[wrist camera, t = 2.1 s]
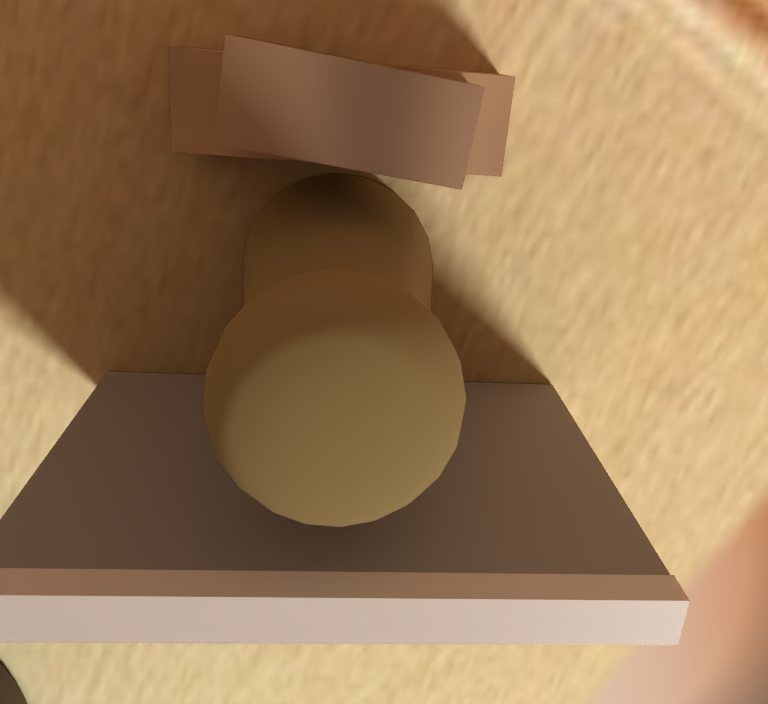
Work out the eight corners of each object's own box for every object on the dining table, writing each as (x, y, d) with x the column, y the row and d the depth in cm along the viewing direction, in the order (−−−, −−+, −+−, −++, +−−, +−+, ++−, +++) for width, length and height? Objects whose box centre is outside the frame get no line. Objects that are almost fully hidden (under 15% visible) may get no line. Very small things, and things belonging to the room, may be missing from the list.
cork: (455, 322, 24) (537, 521, 14) (285, 380, 25) (246, 613, 14) (398, 144, 22) (445, 229, 12) (211, 212, 22) (102, 349, 12)
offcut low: (189, 140, 22) (170, 151, 20) (187, 47, 21) (167, 46, 19) (485, 163, 23) (501, 176, 20) (497, 73, 22) (515, 76, 19)
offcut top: (229, 132, 19) (213, 143, 17) (239, 36, 19) (225, 34, 16) (448, 173, 20) (461, 190, 18) (468, 82, 19) (485, 86, 17)
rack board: (110, 401, 25) (-47, 642, 15) (107, 368, 24) (-58, 595, 14) (547, 412, 26) (677, 645, 16) (552, 381, 25) (690, 600, 15)
